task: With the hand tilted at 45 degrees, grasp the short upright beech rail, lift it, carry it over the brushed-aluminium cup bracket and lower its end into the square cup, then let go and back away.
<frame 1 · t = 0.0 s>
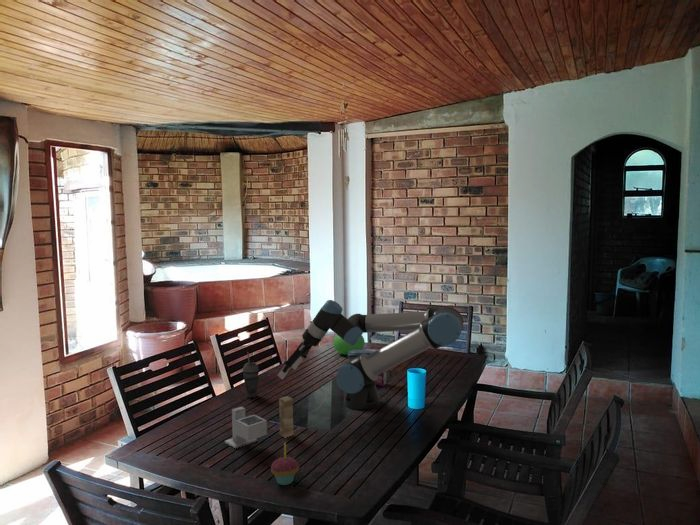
hand: (286, 372, 220), 15 cm above the table, tool tilted 35°, fingers open, 13 cm apart
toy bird: (349, 354, 306), on the table
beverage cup: (251, 396, 236), on the table
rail: (286, 435, 194), on the table
cupcake: (285, 481, 161), on the table
candy bar box: (374, 384, 253), on the table
bracket: (252, 448, 184), on the table
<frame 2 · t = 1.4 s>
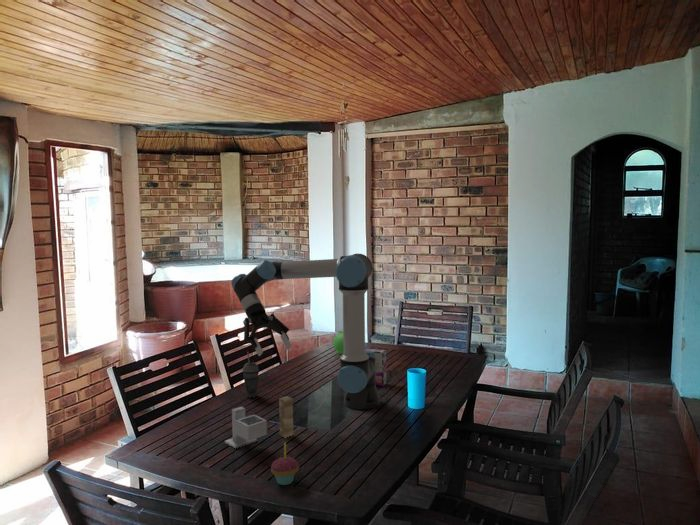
hand: (275, 351, 206), 28 cm above the table, tool tilted 45°, fingers open, 13 cm apart
nothing on the table moved.
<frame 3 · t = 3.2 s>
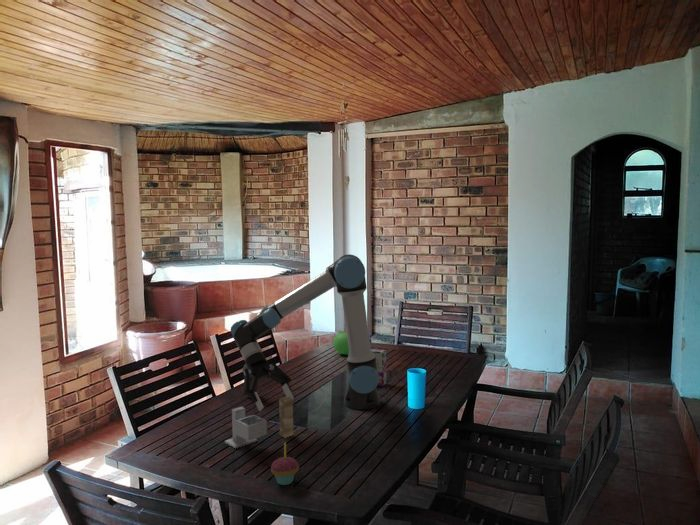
hand: (277, 404, 195), 11 cm above the table, tool tilted 45°, fingers open, 13 cm apart
nothing on the table moved.
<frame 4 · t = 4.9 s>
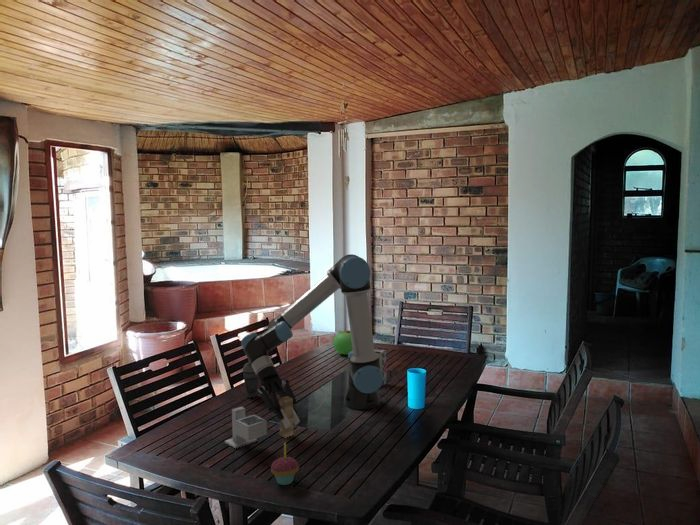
hand: (292, 424, 191), 5 cm above the table, tool tilted 45°, fingers closed on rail, 3 cm apart
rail: (286, 435, 194), on the table, touching gripper
everything else where it was.
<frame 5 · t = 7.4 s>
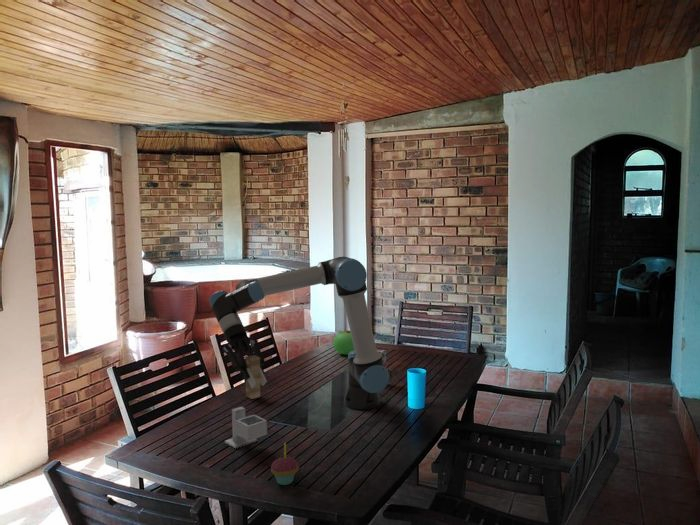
hand: (259, 384, 180), 23 cm above the table, tool tilted 45°, fingers closed on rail, 3 cm apart
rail: (253, 396, 183), point 18 cm above the table, touching gripper
everything else where it was.
when the fingers open (12 cm above the table, at t = 10.2 s): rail stays where it is, resting on bracket.
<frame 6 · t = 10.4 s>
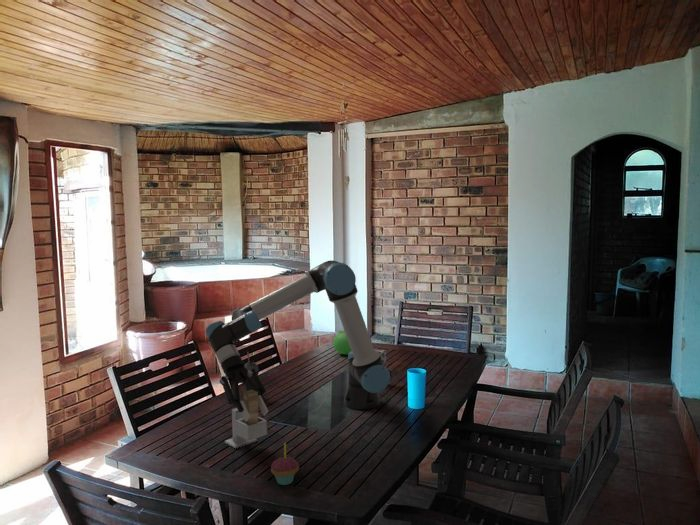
hand: (257, 416, 180), 12 cm above the table, tool tilted 45°, fingers open, 7 cm apart
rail: (251, 431, 183), point 6 cm above the table, touching bracket
everything else where it was.
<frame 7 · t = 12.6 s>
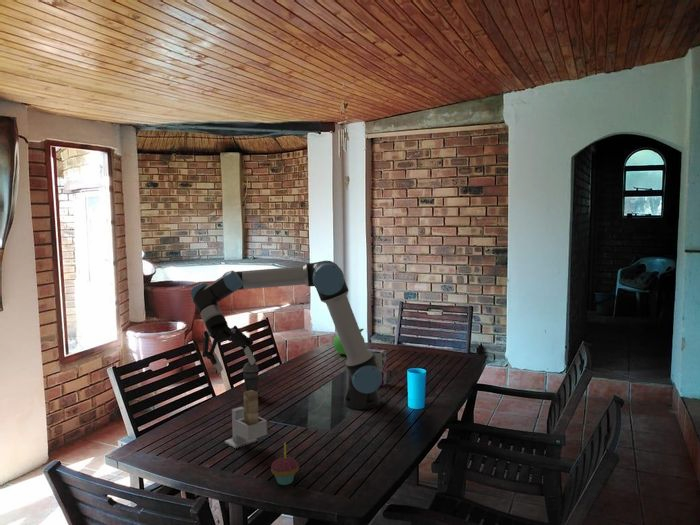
hand: (237, 366, 190), 26 cm above the table, tool tilted 45°, fingers open, 13 cm apart
nothing on the table moved.
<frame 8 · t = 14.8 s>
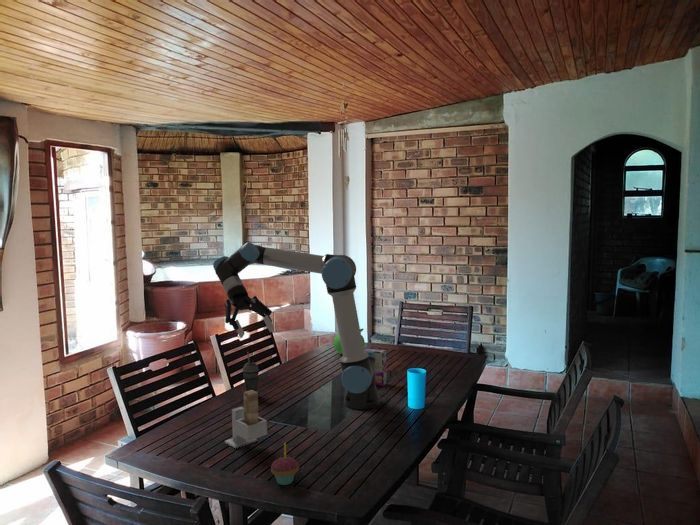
hand: (257, 333, 202), 36 cm above the table, tool tilted 45°, fingers open, 13 cm apart
nothing on the table moved.
at the end: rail 0.1 cm off-centre on the bracket, point 6.0 cm above the bracket's base; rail tilted 0°; the gripper is holding nothing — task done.
